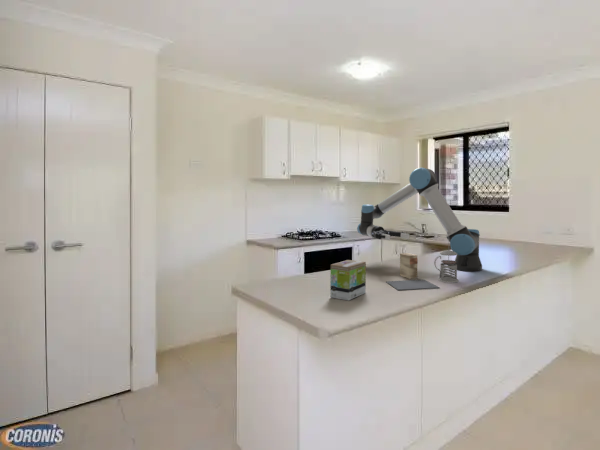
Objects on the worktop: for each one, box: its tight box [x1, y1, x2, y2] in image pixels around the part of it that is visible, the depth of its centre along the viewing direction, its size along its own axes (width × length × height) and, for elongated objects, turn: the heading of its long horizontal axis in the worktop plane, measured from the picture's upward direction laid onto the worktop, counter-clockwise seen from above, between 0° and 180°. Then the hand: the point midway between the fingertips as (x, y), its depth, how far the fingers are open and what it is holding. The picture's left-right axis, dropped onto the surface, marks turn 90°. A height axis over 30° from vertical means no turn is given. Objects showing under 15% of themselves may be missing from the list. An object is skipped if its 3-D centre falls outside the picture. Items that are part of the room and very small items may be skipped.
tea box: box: [329, 259, 367, 301], centre depth 161 cm, size 15×10×15 cm
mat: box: [385, 278, 440, 291], centre depth 176 cm, size 20×16×1 cm
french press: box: [434, 231, 460, 284], centre depth 183 cm, size 10×12×25 cm
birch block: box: [399, 252, 419, 279], centre depth 193 cm, size 5×8×12 cm, turn 21°
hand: (399, 237), depth 200 cm, fingers open, 13 cm apart
